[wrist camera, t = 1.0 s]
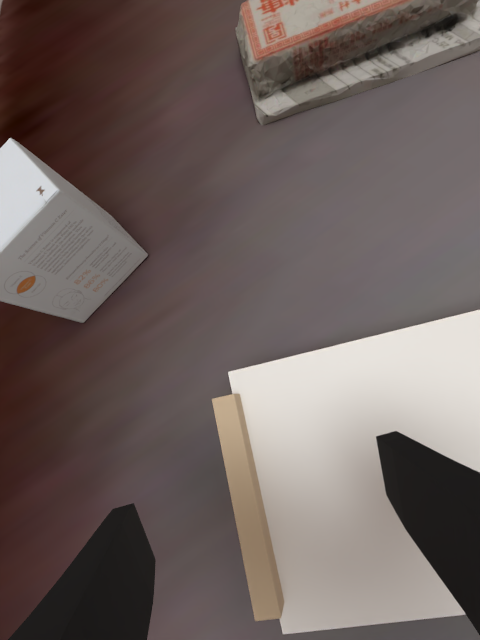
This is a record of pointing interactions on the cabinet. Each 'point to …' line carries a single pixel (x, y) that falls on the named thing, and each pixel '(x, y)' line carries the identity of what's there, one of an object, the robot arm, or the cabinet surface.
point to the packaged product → (345, 47)
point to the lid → (345, 472)
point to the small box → (56, 241)
